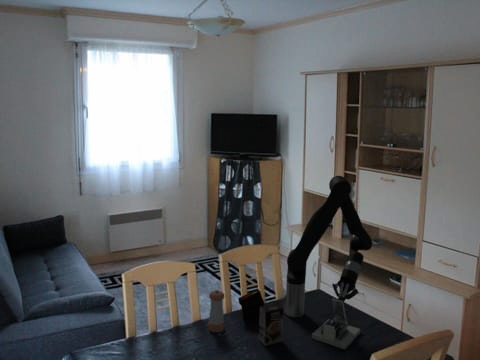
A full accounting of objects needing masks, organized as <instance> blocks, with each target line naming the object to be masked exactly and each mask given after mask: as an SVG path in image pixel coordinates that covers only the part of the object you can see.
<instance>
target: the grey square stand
mask: <svg viewBox="0 0 480 360" xmlns="http://www.w3.org/2000/svg"><path fill="white" fill-rule="evenodd" d="M328 320H330V318H329V319H327V320H326V321H325V322H324V323H323V324H322V325H321V326H319V327H318V328H317V329H316V330H315V331H314V332H313V333H312V334H311V339H313V340H316V341H318V342H322V343H324V344H328V345H330V346H333V347H336V348H339V349H342V350H346V349H347V348H348V347H349V346H350V345H351V344H352V343H353V341H355V339H356V338H358V336H359V335H360V333H361V329H360V328H358V327H355V326H351V325H350V324H349V325H348V320H347V321H343V320H339V319H336V318H333V320H332V319H331V323H332V322H333V321H335V324H336V323H337V322H339V325H340V324H341V323H344V324H343V327H344V326H345V325H346V324H347V325H348V328H347V330H349V332H348V334H347V335H346V336H345V337H344V338H343V339H342V340H339V339H336V338H335V337H336V330H335V327H332V326H329V325H326V324H325V323H326V322H327V321H328ZM323 325H324V330H323V334H321V330H322V326H323Z"/></svg>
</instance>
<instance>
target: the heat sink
mask: <svg viewBox="0 0 480 360" xmlns="http://www.w3.org/2000/svg"><path fill="white" fill-rule="evenodd" d="M327 320H328V319H327ZM327 320H326V321H327ZM331 320H332V319H330V318H329V320H328V321H327V322H326V321H325V322H326V323H325V322H324V323H325V324H326V325H329V326H332V327H335V330H336V337H335V338H336V339H339V340H342V339H343V338H344V337H345V336H346V335H347V334H348V332H349V330H347V328H348V323H347V324H346V325H345V326H344V327H343V324H344V323H341V324H340V325H339V322H337V323H336V324H335V321H333V320H332V321H333V322H332V323H331ZM322 325H323V324H322ZM322 325H321V326H322ZM323 330H324V325H323V326H322V330H321V334H323Z"/></svg>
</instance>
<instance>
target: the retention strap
mask: <svg viewBox="0 0 480 360" xmlns="http://www.w3.org/2000/svg"><path fill="white" fill-rule="evenodd" d="M331 303H332V308H333V315H334V318H336V319H339V320H343V321H347V322H348V318H347V317H346V316H347V315H346V310H345V305H344V304H345V302H344V303H343V301H342V300H338V298H334V297H332V299H331ZM334 318H333V319H334Z"/></svg>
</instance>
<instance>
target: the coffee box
mask: <svg viewBox="0 0 480 360" xmlns="http://www.w3.org/2000/svg"><path fill="white" fill-rule="evenodd" d="M284 314H285V313H284V306H282V305H280V304H278V302H275V303H271V304H264V306H260V317H259V320H258V322H259V323H258V340H259V341H260V343H262V344H263V346H265V347H266V346H269V345H273V344H277V343H282V342H283V330H284Z"/></svg>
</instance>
